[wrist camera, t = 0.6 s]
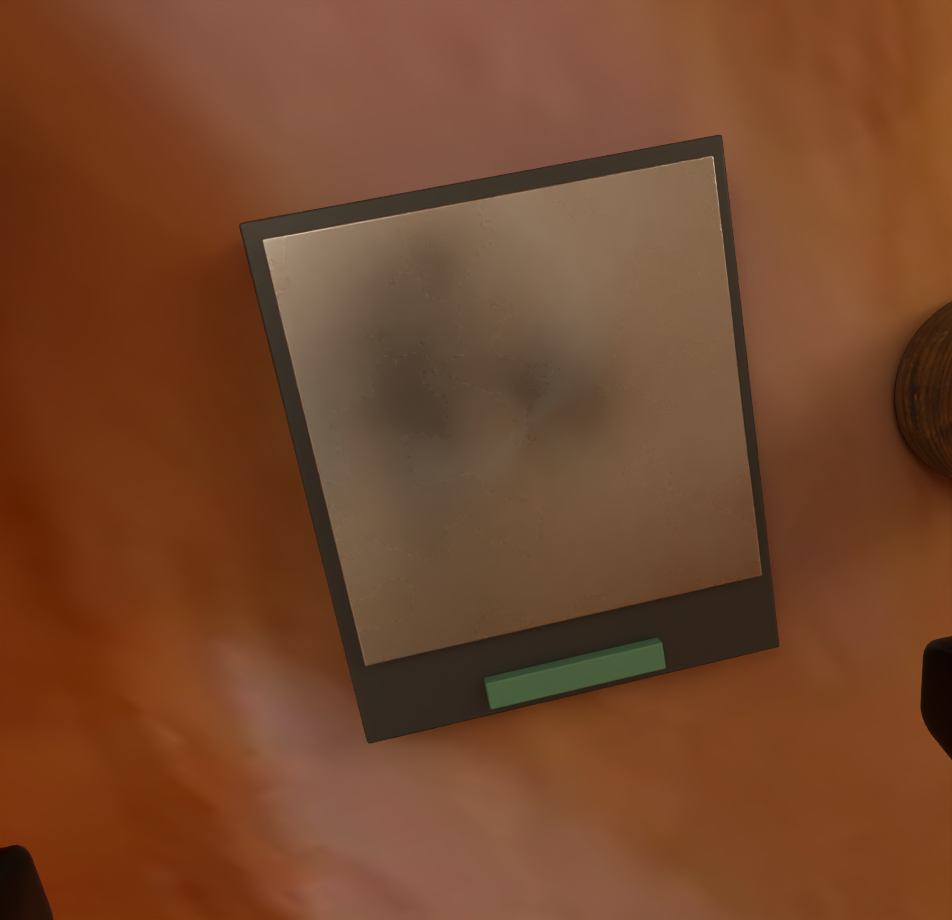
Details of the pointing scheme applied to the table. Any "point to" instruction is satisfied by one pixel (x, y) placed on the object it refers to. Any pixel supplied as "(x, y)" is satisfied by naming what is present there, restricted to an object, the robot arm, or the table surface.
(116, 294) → the table surface
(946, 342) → the utensil holder
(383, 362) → the kitchen scale
